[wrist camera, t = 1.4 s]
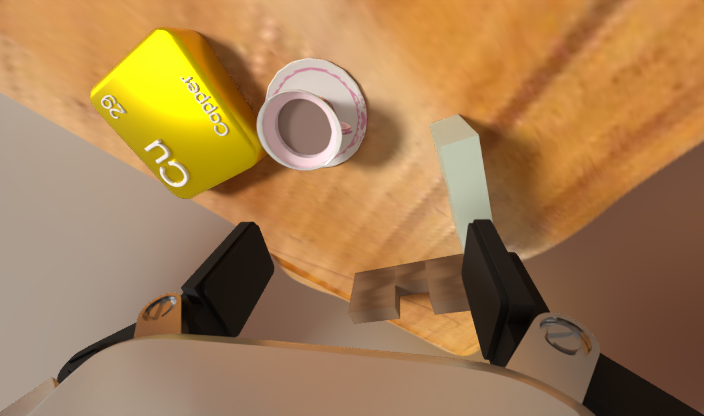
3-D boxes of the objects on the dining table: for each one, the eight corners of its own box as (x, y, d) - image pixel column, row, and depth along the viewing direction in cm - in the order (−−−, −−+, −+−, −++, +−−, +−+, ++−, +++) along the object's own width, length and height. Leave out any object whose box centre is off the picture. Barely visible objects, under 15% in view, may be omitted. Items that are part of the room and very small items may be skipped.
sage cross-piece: (457, 113, 27) (478, 134, 20) (479, 225, 33) (500, 269, 27) (429, 123, 28) (439, 146, 21) (455, 230, 34) (470, 273, 28)
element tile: (278, 149, 32) (262, 162, 28) (200, 189, 38) (177, 206, 34) (196, 21, 26) (159, 15, 22) (117, 91, 32) (76, 96, 28)
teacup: (276, 164, 33) (254, 185, 28) (256, 59, 27) (223, 60, 22) (367, 167, 32) (361, 190, 26) (368, 56, 25) (360, 57, 20)
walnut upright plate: (472, 251, 36) (489, 294, 29) (475, 264, 37) (491, 308, 30) (355, 273, 41) (347, 313, 35) (360, 283, 42) (354, 323, 36)
